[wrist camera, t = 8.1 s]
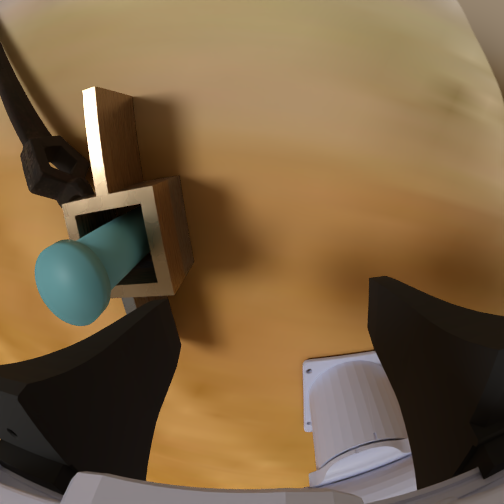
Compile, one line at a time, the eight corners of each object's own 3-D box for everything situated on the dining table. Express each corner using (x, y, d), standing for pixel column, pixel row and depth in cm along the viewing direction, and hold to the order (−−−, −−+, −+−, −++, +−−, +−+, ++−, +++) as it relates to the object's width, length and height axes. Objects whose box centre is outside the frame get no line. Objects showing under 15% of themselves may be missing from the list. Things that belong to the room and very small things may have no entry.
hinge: (209, 333, 23) (196, 376, 19) (139, 335, 24) (116, 373, 19) (168, 87, 17) (138, 72, 13) (90, 109, 18) (48, 105, 13)
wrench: (21, -25, 14) (143, 175, 19) (-7, 10, 15) (97, 219, 20) (-9, -37, 9) (99, 184, 14) (-38, 3, 10) (51, 238, 16)
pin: (175, 250, 21) (113, 327, 12) (127, 254, 21) (50, 323, 12) (166, 196, 20) (88, 241, 11) (117, 203, 20) (25, 249, 11)
